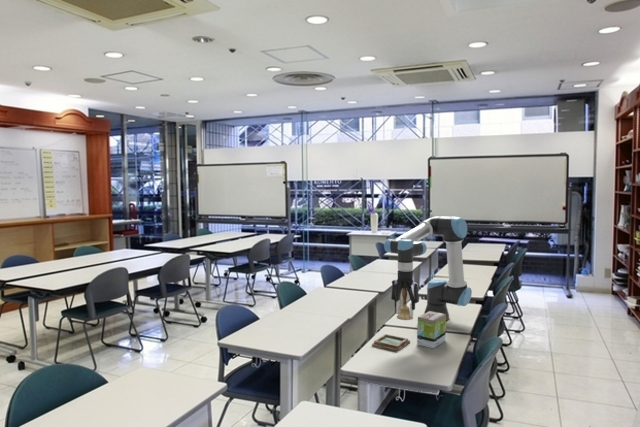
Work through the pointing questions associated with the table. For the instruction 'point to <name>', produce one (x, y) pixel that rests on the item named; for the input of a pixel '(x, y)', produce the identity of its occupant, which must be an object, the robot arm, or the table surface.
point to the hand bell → (404, 308)
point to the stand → (391, 342)
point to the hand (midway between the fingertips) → (404, 314)
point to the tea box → (431, 329)
